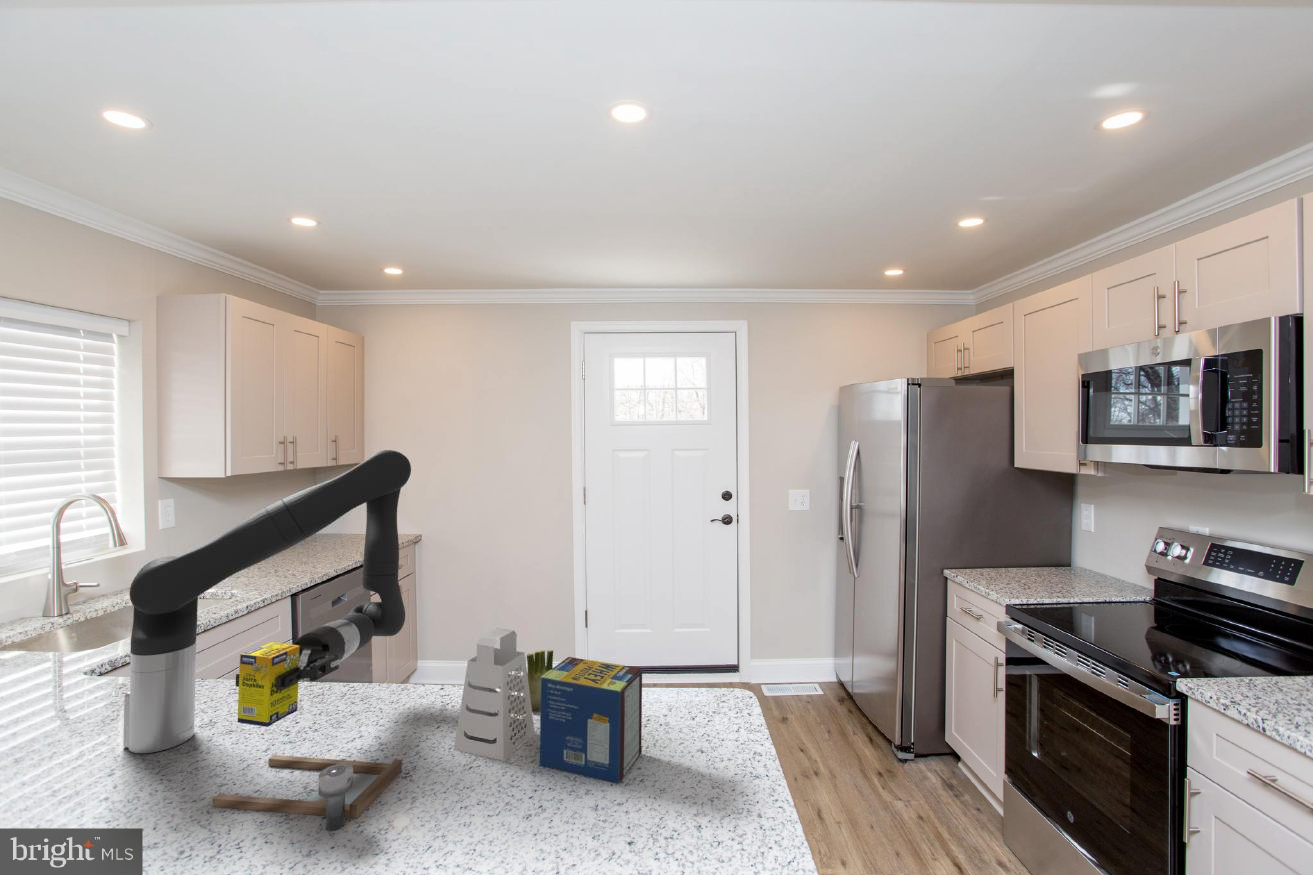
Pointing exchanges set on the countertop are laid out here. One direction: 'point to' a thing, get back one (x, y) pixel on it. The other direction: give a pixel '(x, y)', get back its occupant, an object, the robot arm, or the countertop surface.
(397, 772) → the bay
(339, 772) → the grey bolt
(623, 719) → the protein box
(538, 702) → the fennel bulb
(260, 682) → the supplement box
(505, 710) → the grater
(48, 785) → the countertop surface
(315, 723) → the countertop surface
